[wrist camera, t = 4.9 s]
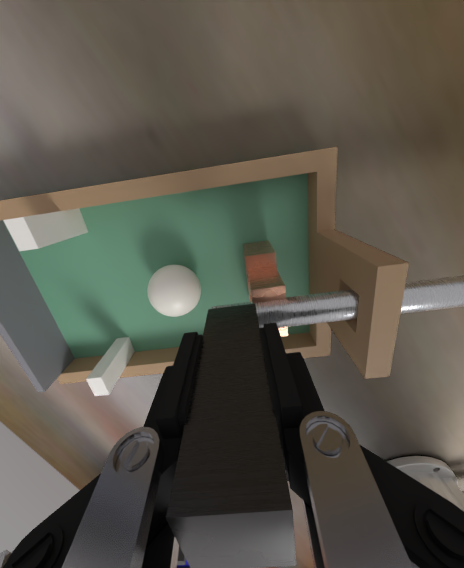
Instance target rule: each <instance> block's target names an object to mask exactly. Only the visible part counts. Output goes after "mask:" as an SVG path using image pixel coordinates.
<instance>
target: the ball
mask: <svg viewBox="0 0 464 568" xmlns="http://www.w3.org/2000/svg"><path fill="white" fill-rule="evenodd" d="M147 293H148V298H149V301H150V303H151V305H152V306H153V307H154V308H155V309H156V310H157V311H158V312H159V313H161V314H163V315H166V316H171V317H178V316H182V315H185V314H187V313H189V312H190V311H192V310H193V309H194V308H195V306H196V305H197V304H198V302H199V299H200V296H201V285H200V282H199V279H198V278H197V276H196V275H195V273H194V272H193V271H191V270H190V269H189V268H187V267H185V266H181V265H167V266H164V267H162V268H160V269H159V270H157V271H156V272H155V273H154V274H153V276H152V277H151V279H150V281H149V283H148V288H147Z"/></svg>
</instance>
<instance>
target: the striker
mask: <svg viewBox="0 0 464 568" xmlns="http://www.w3.org/2000/svg"><path fill="white" fill-rule="evenodd" d="M243 251H244V259H245V267H246V275H247V283H248V291H249V299H250V302H244V303H236V304H228V305H220V306H212V307H211V309H208V313H207V317H206V322H205V327H204V332H203V340H202V345H201V350H200V355H199V360H198V365H197V370H196V375H195V380H194V385H193V390H192V395H191V400H190V405H189V410H188V415H187V420H186V422H185V426H184V431H183V436H182V440H181V445H180V450H179V455H178V460H177V465H176V470H175V475H174V480H173V485H172V490H171V495H170V500H169V504H168V509H167V514H166V520H167V522H168V524H169V526H170V528H171V530H172V532H173V534H174V536H175V538H176V540H177V542H178V544H179V546H180V548H181V550H182V552H183V554H184V556H185V558H186V560H187V562H188V564H189V566H190V568H263V567H282V566H296V553H295V539H294V525H293V511H292V505H291V499H290V494H289V488H288V483H287V477H286V472H285V466H284V461H283V455H282V450H281V444H280V438H279V433H278V427H277V422H276V416H275V414H274V412H273V406H272V401H271V395H270V389H269V383H268V378H267V372H266V366H265V360H264V355H263V349H262V343H261V338H260V332H259V328H263V327H264V324H268V323H277V326H278V329H279V333H280V336H281V337H282V336H288V327H290V326H299V325H308V324H316V323H325V322H334V321H343V320H351V319H357V316H358V304H359V295H358V294H357V293H356V292H354V291H353V290H352V289H351V290H342V291H334V292H326V293H318V294H310V295H301V296H293V297H286V289H285V284H284V282H283V280H282V278H281V276H280V274H279V272H278V270H277V263H276V252H275V250H274V249H273V247H272V245H271V244H270V242H269V241H260V242H253V243H246V244H243ZM456 307H464V276H457V277H449V278H440V279H432V280H424V281H416V282H408V283H406V284H405V290H404V295H403V301H402V307H401V313H400V314H404V313H412V312H421V311H430V310H439V309H447V308H456Z"/></svg>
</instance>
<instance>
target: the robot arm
mask: <svg viewBox="0 0 464 568" xmlns="http://www.w3.org/2000/svg"><path fill="white" fill-rule="evenodd" d="M259 332H260V338H261V343H262V349H263V355H264V360H265V366H266V372H267V378H268V383H269V389H270V395H271V401H272V406H273V412H274V414H275V416H276V422H277V427H278V433H279V438H280V444H281V450H282V455H283V461H284V466H285V470H286V476H287V481H289V483H290V488H291V489H292V490H293V491H294V492H295V493H296V494H297V495H298V496H299V497H301V498H302V501H303V507H304V512H305V518H306V523H307V529H308V535H309V540H310V546H311V551H312V557H313V563H314V568H464V491H462V490H460V489H459V487H458V486H457V478H456V476H455V474H454V473H453V471H452V470H451V469H450V467H449V466H448V465H447V464H446V463H444V462H442V461H441V460H438V459H435V458H432V457H426V456H407V457H401V458H396V459H393V460H389V461H387V462H386V461H385V460H383V459H382V458H380V457H378V456H377V455H375V454H374V453H372V452H370V451H369V450H367V449H366V448H364V447H362V446H361V445H359V443H358V440H357V438H356V436H355V434H354V432H353V430H352V429H351V427H350V426H349V425H348V424H347V423H346V422H345V421H344V420H343V419H342V418H340V417H339V416H337V415H335V414H333V413H330V412H325V411H324V409H323V406H322V404H321V401H320V399H319V396H318V394H317V391H316V389H315V386H314V384H313V381H312V379H311V376H310V374H309V371H308V369H307V366H306V364H305V361H304V359H303V356H302V354H301V353H300V352H295V353H286V352H285V349H284V345H283V342H282V339H281V336H280V333H279V329H278V326H277V323H268V324H264V327H263V328H259ZM202 340H203V335H202V334H201V335H198V332H189V333H184V334H183V337H182V340H181V343H180V346H179V349H178V352H177V355H176V358H175V361H174V364H173V365H172V366H167V367H166V368H165V370H164V373H163V376H162V378H161V381H160V384H159V386H158V389H157V392H156V394H155V397H154V400H153V403H152V405H151V408H150V411H149V413H148V416H147V419H146V421H145V424H144V427H140V428H136V429H134V430H132V431H130V432H128V433H126V434H125V435H124V436H123V437H122V438H120V439H119V441H118V442H117V443H116V444H115V445H114V447H113V448H112V450H111V452H110V454H109V456H108V458H107V461H106V463H105V465H104V468H103V470H102V473H101V474H100V475H98V476H97V477H96V478H95V479H94V480H92V481H91V482H90V483H89V484H87V485H86V486H85V487H84V488H83V489H81V490H80V491H79V492H78V493H77V494H75V495H74V496H73V497H72V498H71V499H70V500H68V501H67V502H66V503H65V504H63V505H62V506H61V507H60V508H59V509H57V510H56V511H55V512H54V513H52V514H51V515H50V516H49V517H48V518H47V519H45V520H44V521H43V522H42V523H40V524H39V525H38V526H37V527H36V528H34V529H33V530H32V531H31V532H30V533H29V534H28V535H27V536H26V537H25V538H24V539H23V540H22V541H21V542H20V543H19V545H18V546H17V547H16V548H15V550H14V551H12V552H9V551H8V550H5V551H3V552H1V553H0V568H177V560H178V552H179V544H178V542H177V540H176V538H175V536H174V534H173V532H172V530H171V528H170V526H169V524H168V522H167V520H166V514H167V509H168V504H169V500H170V495H171V490H172V485H173V480H174V475H175V470H176V465H177V460H178V455H179V450H180V445H181V440H182V436H183V431H184V426H185V422H186V420H187V415H188V410H189V405H190V400H191V395H192V390H193V385H194V380H195V375H196V370H197V365H198V360H199V355H200V350H201V345H202Z"/></svg>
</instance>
